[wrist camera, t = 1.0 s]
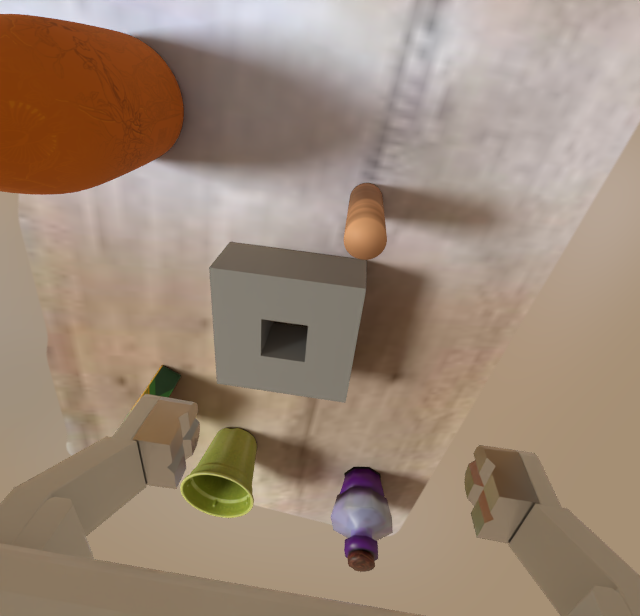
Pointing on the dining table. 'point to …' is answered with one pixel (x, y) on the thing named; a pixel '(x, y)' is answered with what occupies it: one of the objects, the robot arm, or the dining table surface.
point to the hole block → (286, 319)
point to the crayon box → (162, 383)
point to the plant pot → (223, 476)
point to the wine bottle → (79, 105)
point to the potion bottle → (362, 516)
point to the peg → (365, 223)
